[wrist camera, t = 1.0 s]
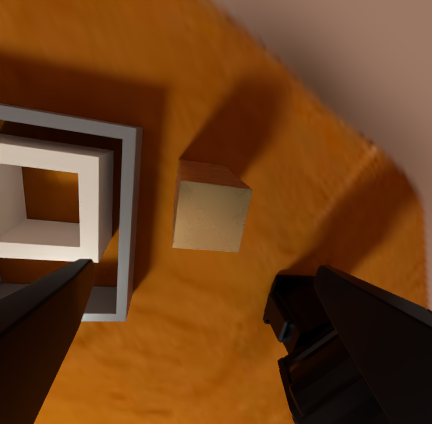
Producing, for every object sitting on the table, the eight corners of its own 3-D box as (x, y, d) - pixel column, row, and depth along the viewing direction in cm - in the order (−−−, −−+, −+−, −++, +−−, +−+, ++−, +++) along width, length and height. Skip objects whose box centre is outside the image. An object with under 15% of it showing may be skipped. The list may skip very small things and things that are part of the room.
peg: (224, 165, 20) (252, 189, 13) (216, 208, 22) (238, 252, 14) (178, 158, 20) (180, 180, 12) (173, 203, 21) (172, 247, 13)
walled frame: (143, 127, 18) (135, 128, 15) (132, 294, 23) (124, 325, 20) (-42, 95, 16) (-108, 87, 12) (-8, 290, 21) (-47, 326, 17)
